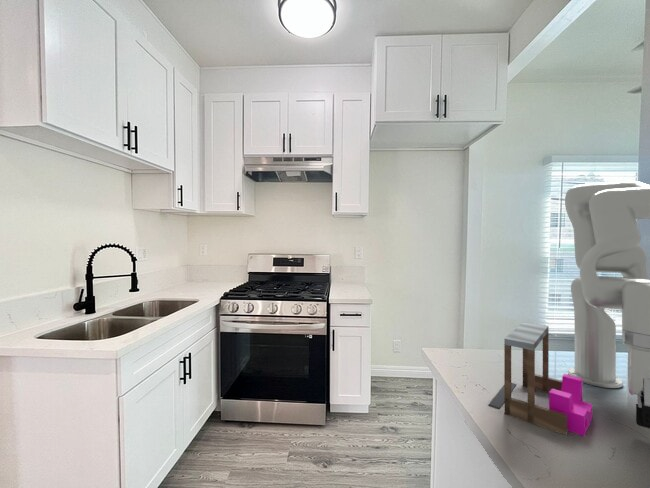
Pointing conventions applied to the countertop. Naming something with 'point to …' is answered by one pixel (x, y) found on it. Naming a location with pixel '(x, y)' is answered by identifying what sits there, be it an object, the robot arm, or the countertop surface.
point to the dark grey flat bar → (500, 397)
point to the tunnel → (531, 378)
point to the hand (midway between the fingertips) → (647, 426)
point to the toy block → (572, 404)
